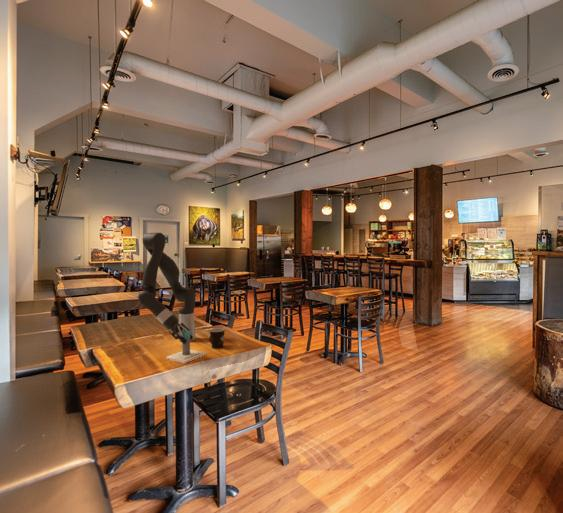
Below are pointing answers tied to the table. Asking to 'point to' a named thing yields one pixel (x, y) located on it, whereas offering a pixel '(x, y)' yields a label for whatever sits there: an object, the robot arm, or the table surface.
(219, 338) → the coffee mug
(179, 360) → the notepad
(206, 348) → the table surface
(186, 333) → the marker
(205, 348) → the table surface
